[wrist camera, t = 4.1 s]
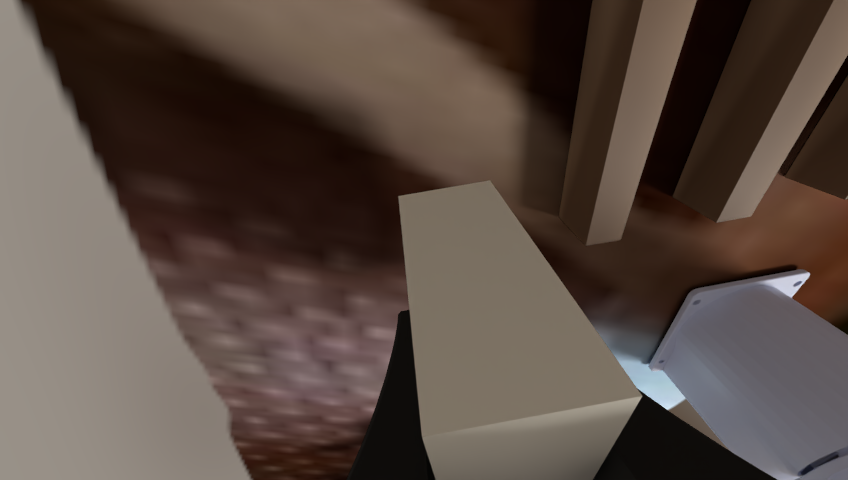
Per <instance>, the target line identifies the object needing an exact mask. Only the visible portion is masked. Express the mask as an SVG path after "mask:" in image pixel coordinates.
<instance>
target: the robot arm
mask: <svg viewBox="0 0 848 480" xmlns="http://www.w3.org/2000/svg"><path fill="white" fill-rule="evenodd" d="M809 276H810V273H809V272H807V271H805V270H803V269H799V270H794V271H788V272H783V273H778V274H772V275H767V276H761V277H756V278H750V279H745V280H739V281H734V282H729V283H723V284H718V285H712V286H707V287H701V288H697V289H694V290H692V291H691V292H690V293H689V294H688V295H687V297H686V299H685V301H684V303H683V304H682V306H681V308H680V310H679V312H678V313H677V315H676V317H675V319H674V321H673V322H672V324H671V326H670V328H669V330H668V331H667V333H666V335H665V337H664V339H663V340H662V342H661V344H660V346H659V348H658V349H657V351H656V353H655V355H654V357H653V358H652V360H651V362H650V364H649V368H650V369H651V371H660V370H663V371H664V372H665V373H666V375H667V376H668V377H669V378H670V379H671V381H672V382H673V383H674V384H675V386H676V387H677V388H678V389H679V390H680V392H681V393H682V394H683V395H684V396H685V398H686V399H687V400H688V401H689V402H690V404H691V405H692V406H693V407H694V409H695V410H696V411H697V412H698V414H699V415H700V416H701V417H702V418H703V420H704V421H705V422H706V423H707V424H708V426H709V427H710V428H711V429H712V430H713V432H714V433H715V434H716V435H717V436H718V438H719V439H720V440H721V441H722V442H723V444H724V445H725V446H726V447H727V448H728V449H729V450H730V451H729V450H727V449H726V448H724V447H722V446H721V445H719V444H718V443H716V442H715V441H713V440H712V439H710V438H709V437H707V436H706V435H704V434H703V433H701V432H699V431H698V430H697V429H695V428H693V427H692V426H690V425H689V424H687V423H686V422H684V421H682V420H681V419H680V418H678V417H677V416H675V415H674V414H672V413H671V412H669V411H668V410H666V409H665V408H664V407H662V406H661V405H659V404H658V403H657V402H655V401H654V400H652V399H651V398H649V397H648V396H647V395H645V394H644V393H643V392H641V391H640V390H639V389H638V391H639V392H640V393H641V395H642V398H641V399H640V401H639V403H638V404H637V406H636V408H635V409H634V411H633V413H632V415H631V416H630V418H629V420H628V421H627V423H626V425H625V426H624V428H623V430H622V431H621V433H620V435H619V436H618V438H617V440H616V441H615V443H614V445H613V447H612V448H611V450H610V452H609V453H608V455H607V457H606V458H605V460H604V462H603V463H602V465H601V467H600V468H599V470H598V472H597V473H596V475H595V477H594V479H593V480H848V335H847V334H845V333H843V332H842V331H840V330H839V329H837V328H836V327H834V326H833V325H831V324H830V323H828V322H827V321H825V320H824V319H822V318H821V317H819V316H818V315H816V314H815V313H813V312H812V311H810V310H809V309H807V308H806V307H804V306H803V305H801V304H800V303H798V302H797V301H795V300H794V299H792V298H791V297H792V296H793V295H794V294H795V293H796V291H797V290H798V289H799V288H800V287H801V286H802V284H803V283H804V282H805V281H806V280H807V279H808V277H809ZM732 452H733V453H732ZM347 480H436V479H435V476H434V473H433V470H432V467H431V464H430V461H429V457H428V454H427V451H426V448H425V445H424V442H423V439H422V432H421V422H420V412H419V402H418V392H417V381H416V371H415V361H414V351H413V341H412V330H411V320H410V310H407V311H401V312H400V313H399V314H398V323H397V330H396V336H395V341H394V346H393V350H392V354H391V358H390V362H389V366H388V369H387V373H386V377H385V380H384V383H383V386H382V390H381V393H380V396H379V399H378V402H377V405H376V408H375V411H374V414H373V416H372V419H371V422H370V425H369V427H368V430H367V432H366V435H365V437H364V440H363V442H362V445H361V447H360V450H359V452H358V454H357V457H356V459H355V461H354V464H353V466H352V468H351V471H350V473H349V475H348V478H347Z"/></svg>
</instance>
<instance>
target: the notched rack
mask: <svg viewBox="0 0 848 480" xmlns="http://www.w3.org/2000/svg"><path fill="white" fill-rule="evenodd" d="M696 1H697V0H593V1H592V7H591V14H590V20H589V26H588V33H587V39H586V46H585V52H584V58H583V65H582V71H581V78H580V84H579V90H578V97H577V103H576V109H575V116H574V122H573V129H572V135H571V141H570V148H569V154H568V161H567V167H566V173H565V180H564V186H563V193H562V199H561V205H560V212H559V218H560V219H561V220H562V221H563V222H564V223H565V225H566V226H567V227H568V228H569V229H570V230H571V231H572V232H573V233H574V234H575V235H576V236H577V237H578V238H579V239H580V241H581V242H582V243H583V244H584V245H585V246H589V245H595V244H600V243H606V242H611V241H617V240H621V238H622V234H623V231H624V228H625V225H626V222H627V219H628V215H629V212H630V209H631V206H632V203H633V200H634V196H635V193H636V190H637V187H638V184H639V181H640V178H641V174H642V171H643V168H644V165H645V162H646V159H647V155H648V152H649V149H650V146H651V143H652V140H653V137H654V133H655V130H656V127H657V124H658V121H659V118H660V114H661V111H662V108H663V105H664V102H665V99H666V96H667V92H668V89H669V86H670V83H671V80H672V77H673V73H674V70H675V67H676V64H677V61H678V58H679V55H680V51H681V48H682V45H683V42H684V39H685V36H686V32H687V29H688V26H689V23H690V20H691V17H692V14H693V10H694V7H695V4H696ZM847 55H848V0H751V2H750V5H749V7H748V10H747V12H746V15H745V17H744V20H743V22H742V25H741V27H740V30H739V32H738V35H737V37H736V40H735V42H734V45H733V47H732V50H731V52H730V55H729V57H728V60H727V62H726V65H725V67H724V70H723V72H722V75H721V77H720V80H719V82H718V84H717V87H716V89H715V92H714V94H713V97H712V99H711V102H710V104H709V107H708V109H707V112H706V114H705V117H704V119H703V122H702V124H701V127H700V129H699V132H698V134H697V137H696V139H695V142H694V144H693V147H692V149H691V152H690V154H689V157H688V159H687V162H686V164H685V167H684V169H683V172H682V174H681V177H680V179H679V182H678V184H677V187H676V189H675V192H674V194H673V198H675V199H677V200H678V201H680V202H682V203H684V204H685V205H687V206H689V207H690V208H692V209H694V210H696V211H697V212H699V213H701V214H702V215H704V216H706V217H708V218H709V219H711V220H713V221H714V222H716V223H717V222H723V221H728V220H734V219H739V218H745V217H750V216H751V215H752V214H753V212H754V210H755V209H756V207H757V205H758V204H759V202H760V200H761V199H762V197H763V195H764V194H765V192H766V190H767V189H768V187H769V185H770V184H771V182H772V180H773V179H774V177H775V175H776V174H777V172H778V170H779V169H780V167H781V165H782V164H783V162H784V160H785V159H786V157H787V155H788V154H789V152H790V150H791V149H792V147H793V145H794V144H795V142H796V140H797V139H798V137H799V135H800V134H801V132H802V130H803V129H804V127H805V125H806V124H807V122H808V120H809V119H810V117H811V115H812V114H813V112H814V110H815V109H816V107H817V105H818V104H819V102H820V100H821V99H822V97H823V95H824V94H825V92H826V90H827V89H828V87H829V85H830V84H831V82H832V80H833V79H834V77H835V75H836V74H837V72H838V70H839V69H840V67H841V65H842V64H843V62H844V60H845V59H846V57H847ZM785 177H786V178H788V179H791V180H794V181H797V182H799V183H802V184H805V185H807V186H810V187H813V188H815V189H818V190H821V191H823V192H826V193H829V194H831V195H834V196H837V197H839V198H842V199H848V76H847V77H846V79H845V80H844V82H843V84H842V85H841V87H840V89H839V90H838V92H837V93H836V95H835V97H834V98H833V100H832V101H831V103H830V105H829V106H828V108H827V109H826V111H825V113H824V114H823V116H822V117H821V119H820V121H819V122H818V124H817V126H816V127H815V129H814V130H813V132H812V134H811V135H810V137H809V138H808V140H807V142H806V143H805V145H804V146H803V148H802V150H801V151H800V153H799V154H798V156H797V158H796V159H795V161H794V163H793V164H792V166H791V167H790V169H789V171H788V172H787V174H786V175H785Z"/></svg>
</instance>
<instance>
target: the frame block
mask: <svg viewBox="0 0 848 480" xmlns="http://www.w3.org/2000/svg"><path fill="white" fill-rule="evenodd" d="M398 198H399V208H400V218H401V228H402V239H403V249H404V259H405V269H406V279H407V290H408V300H409V310H410V320H411V330H412V341H413V351H414V361H415V371H416V381H417V392H418V402H419V412H420V422H421V432H422V439H423V442H424V445H425V448H426V451H427V454H428V457H429V461H430V464H431V467H432V470H433V473H434V476H435V479H436V480H593V479H594V477H595V475H596V473H597V472H598V470H599V468H600V467H601V465H602V463H603V462H604V460H605V458H606V457H607V455H608V453H609V452H610V450H611V448H612V447H613V445H614V443H615V441H616V440H617V438H618V436H619V435H620V433H621V431H622V430H623V428H624V426H625V425H626V423H627V421H628V420H629V418H630V416H631V415H632V413H633V411H634V409H635V408H636V406H637V404H638V403H639V401H640V399H641V398H642V395H641V393H640V392H639V391H638V389H637V388H636V386H635V385H634V383H633V382H632V381H631V379H630V378H629V376H628V375H627V374H626V372H625V371H624V369H623V368H622V367H621V365H620V364H619V362H618V361H617V359H616V358H615V357H614V355H613V354H612V352H611V351H610V350H609V348H608V347H607V345H606V344H605V342H604V341H603V340H602V338H601V337H600V335H599V334H598V333H597V331H596V330H595V328H594V327H593V325H592V324H591V323H590V321H589V320H588V318H587V317H586V316H585V314H584V313H583V311H582V310H581V308H580V307H579V306H578V304H577V303H576V301H575V300H574V299H573V297H572V296H571V294H570V293H569V291H568V290H567V289H566V287H565V286H564V284H563V283H562V282H561V280H560V279H559V277H558V276H557V275H556V273H555V272H554V270H553V269H552V267H551V266H550V265H549V263H548V262H547V260H546V259H545V258H544V256H543V255H542V253H541V252H540V250H539V249H538V248H537V246H536V245H535V243H534V242H533V241H532V239H531V238H530V236H529V235H528V233H527V232H526V231H525V229H524V228H523V226H522V225H521V224H520V222H519V221H518V219H517V218H516V216H515V215H514V214H513V212H512V211H511V209H510V208H509V207H508V205H507V204H506V202H505V201H504V199H503V198H502V197H501V195H500V194H499V192H498V191H497V190H496V188H495V187H494V185H493V184H492V183H491V181H490V180H489V181H483V182H478V183H472V184H466V185H460V186H454V187H449V188H443V189H437V190H431V191H425V192H419V193H414V194H408V195H402V196H398Z"/></svg>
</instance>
